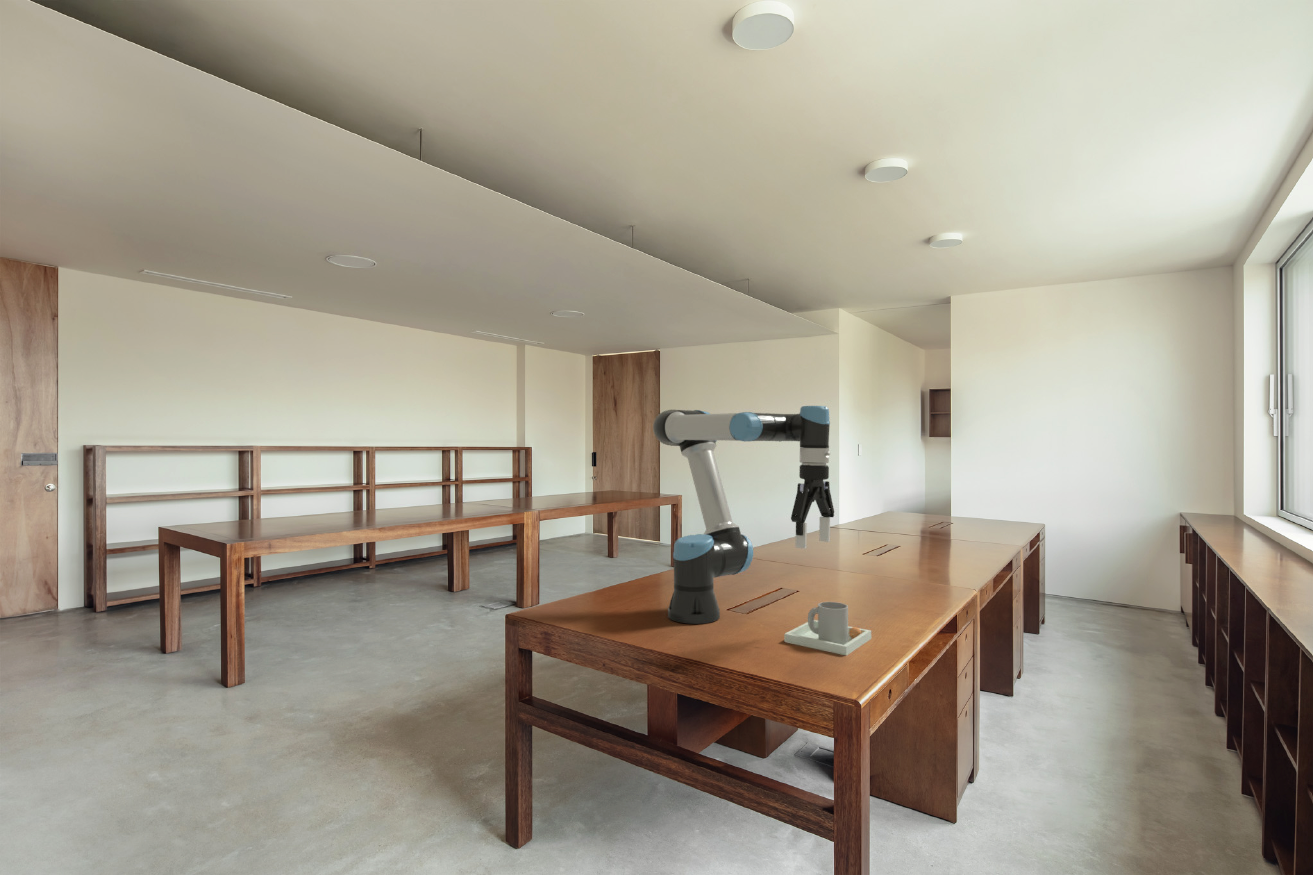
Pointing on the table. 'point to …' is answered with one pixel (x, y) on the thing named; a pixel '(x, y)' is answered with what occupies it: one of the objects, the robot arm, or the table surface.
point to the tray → (811, 640)
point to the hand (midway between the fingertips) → (813, 544)
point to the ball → (854, 632)
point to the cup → (830, 622)
